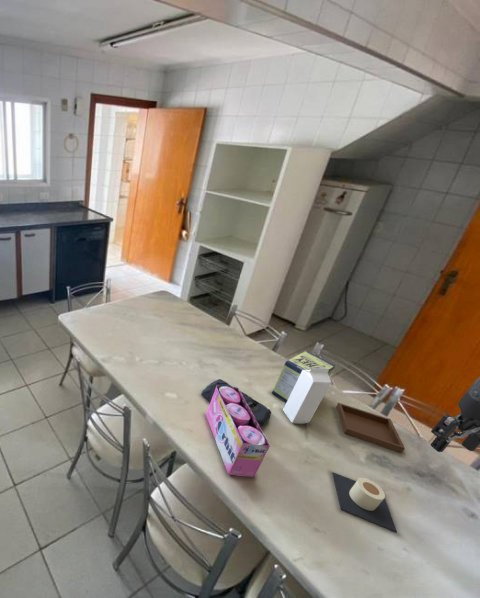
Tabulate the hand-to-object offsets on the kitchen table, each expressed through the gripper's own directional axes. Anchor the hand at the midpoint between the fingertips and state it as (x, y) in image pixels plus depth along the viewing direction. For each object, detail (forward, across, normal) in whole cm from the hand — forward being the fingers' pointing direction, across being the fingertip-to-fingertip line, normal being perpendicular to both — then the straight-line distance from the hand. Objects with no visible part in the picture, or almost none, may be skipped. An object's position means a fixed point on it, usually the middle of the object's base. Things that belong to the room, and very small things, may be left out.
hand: (451, 448), depth 80 cm
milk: (+22, -11, +31) cm, 40 cm away
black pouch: (+22, -31, +37) cm, 53 cm away
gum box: (+22, -41, +20) cm, 51 cm away
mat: (+22, -12, +1) cm, 25 cm away
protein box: (+23, -4, +42) cm, 48 cm away
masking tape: (+22, -12, +1) cm, 25 cm away
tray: (+23, +11, +25) cm, 36 cm away
